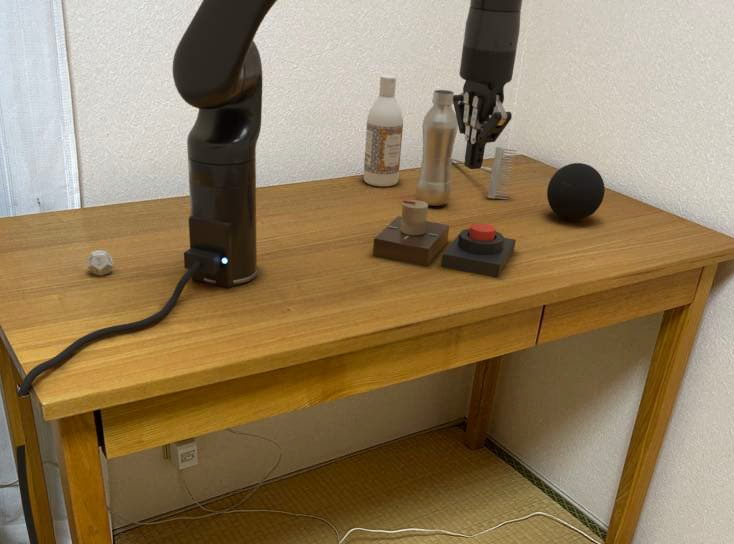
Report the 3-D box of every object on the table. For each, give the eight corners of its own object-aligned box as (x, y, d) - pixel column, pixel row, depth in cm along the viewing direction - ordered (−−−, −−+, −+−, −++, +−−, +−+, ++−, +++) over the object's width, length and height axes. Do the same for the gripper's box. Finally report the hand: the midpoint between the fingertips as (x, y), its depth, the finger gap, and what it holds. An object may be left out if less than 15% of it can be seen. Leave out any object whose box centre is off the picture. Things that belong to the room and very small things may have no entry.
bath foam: (376, 189, 159) (384, 80, 149) (356, 179, 164) (362, 73, 154) (404, 184, 163) (414, 78, 152) (384, 175, 168) (392, 71, 157)
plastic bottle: (455, 203, 155) (469, 92, 144) (439, 212, 150) (452, 97, 139) (425, 196, 157) (436, 86, 147) (408, 204, 152) (418, 91, 142)
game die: (117, 274, 119) (115, 255, 117) (92, 279, 117) (89, 259, 115) (109, 266, 121) (107, 246, 120) (84, 270, 119) (82, 250, 118)
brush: (459, 181, 183) (466, 137, 180) (507, 200, 158) (517, 149, 155) (443, 180, 182) (450, 135, 179) (489, 198, 157) (498, 147, 154)
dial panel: (427, 267, 127) (429, 247, 126) (372, 256, 130) (373, 237, 128) (447, 242, 137) (449, 224, 135) (396, 233, 139) (398, 215, 138)
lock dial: (427, 229, 133) (431, 200, 130) (421, 237, 130) (424, 207, 127) (404, 225, 134) (406, 196, 131) (397, 233, 131) (400, 203, 128)
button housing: (498, 278, 125) (501, 253, 123) (441, 267, 127) (444, 242, 125) (513, 252, 134) (517, 228, 132) (460, 242, 137) (463, 219, 135)
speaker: (593, 212, 154) (605, 158, 149) (602, 230, 146) (614, 174, 141) (540, 207, 155) (549, 154, 150) (545, 225, 146) (556, 169, 141)
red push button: (491, 244, 127) (492, 233, 126) (466, 239, 128) (467, 228, 127) (496, 236, 130) (498, 225, 129) (472, 231, 131) (473, 221, 130)
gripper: (539, 52, 111) (517, 179, 121) (487, 36, 121) (470, 154, 131) (493, 53, 108) (474, 182, 118) (443, 36, 119) (429, 156, 128)
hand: (472, 167), depth 124 cm, fingers closed
